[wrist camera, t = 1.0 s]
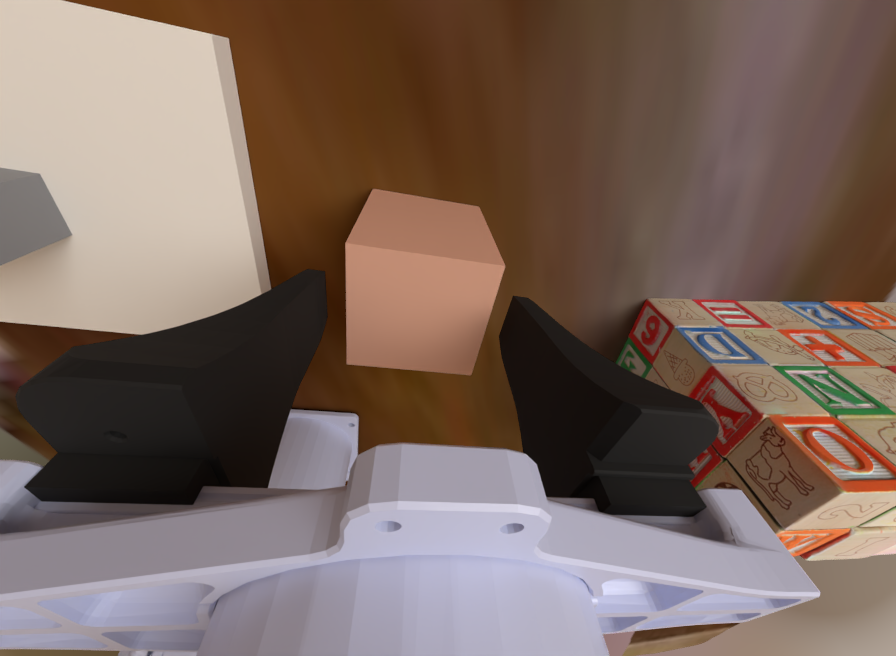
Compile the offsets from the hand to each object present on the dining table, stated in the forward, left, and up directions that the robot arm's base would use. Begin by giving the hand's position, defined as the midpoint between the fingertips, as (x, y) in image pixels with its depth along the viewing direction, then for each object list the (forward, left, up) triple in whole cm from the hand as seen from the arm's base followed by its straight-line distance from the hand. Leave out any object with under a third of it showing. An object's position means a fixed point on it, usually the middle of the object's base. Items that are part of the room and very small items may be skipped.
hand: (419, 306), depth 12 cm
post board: (0, +17, -6) cm, 18 cm away
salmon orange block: (0, 0, -6) cm, 6 cm away
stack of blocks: (-3, -25, -6) cm, 26 cm away
